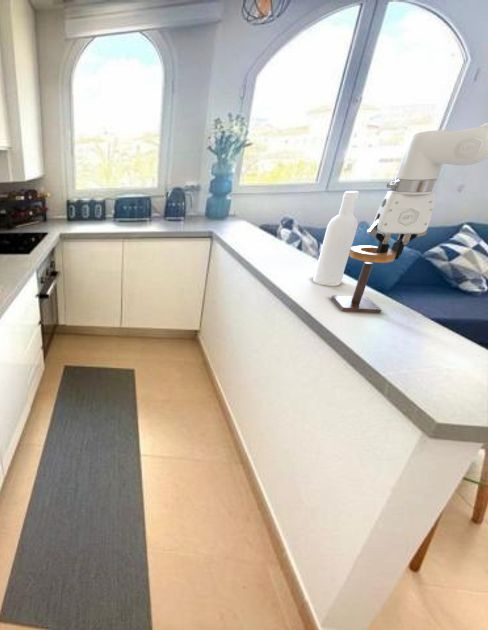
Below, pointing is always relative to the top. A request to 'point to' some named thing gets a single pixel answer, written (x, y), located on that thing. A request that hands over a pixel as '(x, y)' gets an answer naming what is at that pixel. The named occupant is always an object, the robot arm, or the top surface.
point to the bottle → (337, 243)
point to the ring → (371, 254)
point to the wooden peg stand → (358, 295)
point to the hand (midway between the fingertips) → (387, 257)
